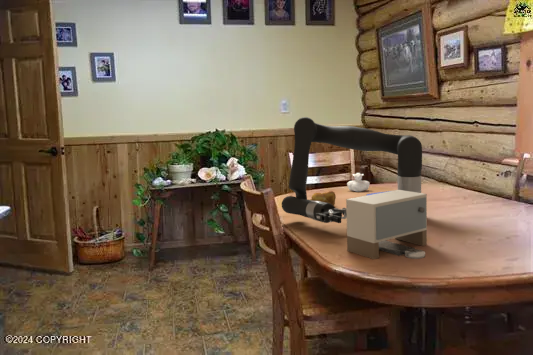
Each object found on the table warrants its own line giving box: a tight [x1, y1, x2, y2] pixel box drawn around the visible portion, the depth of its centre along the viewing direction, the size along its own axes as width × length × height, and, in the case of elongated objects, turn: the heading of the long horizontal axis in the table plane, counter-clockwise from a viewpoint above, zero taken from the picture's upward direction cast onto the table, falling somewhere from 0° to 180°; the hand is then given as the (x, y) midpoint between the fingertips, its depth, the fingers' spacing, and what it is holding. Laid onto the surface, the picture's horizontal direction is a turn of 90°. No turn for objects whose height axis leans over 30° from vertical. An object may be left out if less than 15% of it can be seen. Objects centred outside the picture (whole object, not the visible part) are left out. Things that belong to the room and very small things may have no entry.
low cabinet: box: [345, 189, 428, 260], centre depth 164 cm, size 14×24×17 cm, turn 123°
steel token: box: [404, 248, 426, 260], centre depth 156 cm, size 6×6×2 cm
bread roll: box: [309, 190, 337, 207], centre depth 235 cm, size 13×10×8 cm
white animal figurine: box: [346, 172, 371, 193], centre depth 271 cm, size 12×8×11 cm
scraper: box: [379, 240, 416, 257], centre depth 166 cm, size 20×7×13 cm, turn 33°
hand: (349, 218), depth 180 cm, fingers open, 8 cm apart
